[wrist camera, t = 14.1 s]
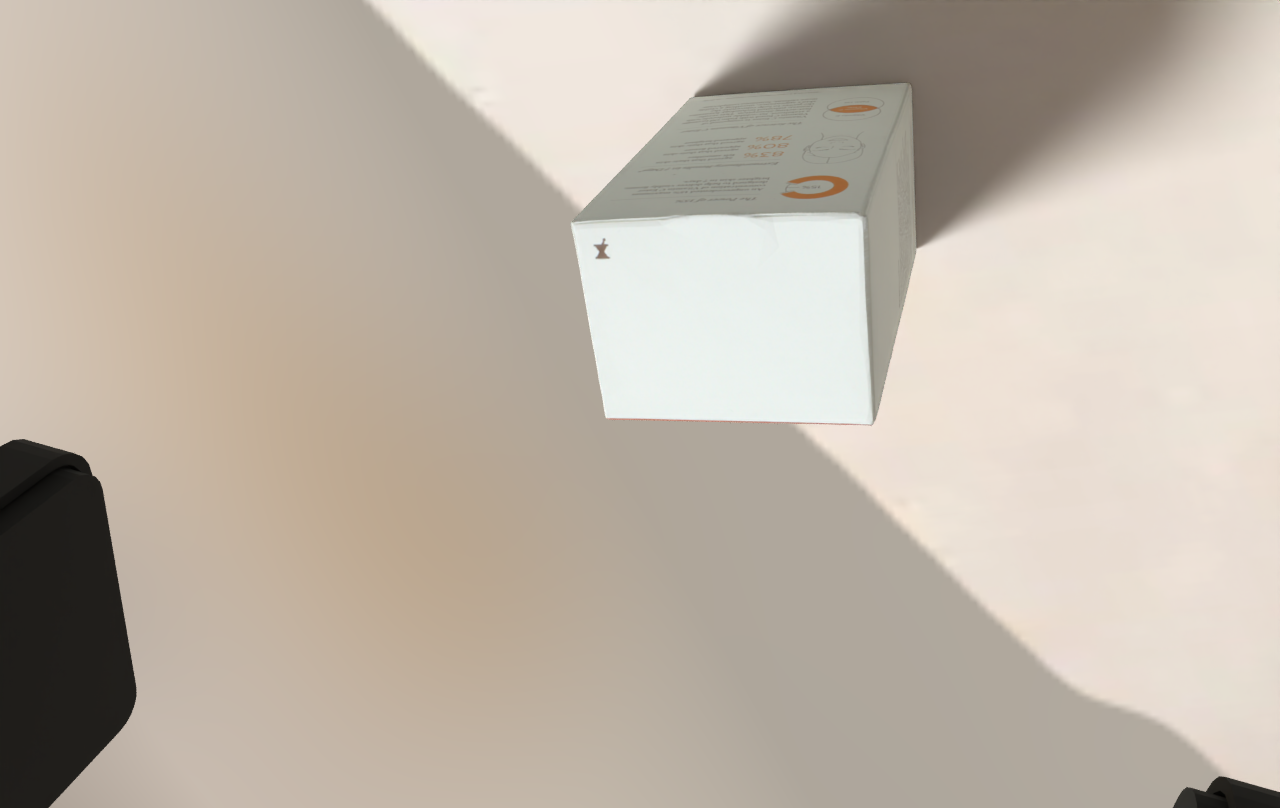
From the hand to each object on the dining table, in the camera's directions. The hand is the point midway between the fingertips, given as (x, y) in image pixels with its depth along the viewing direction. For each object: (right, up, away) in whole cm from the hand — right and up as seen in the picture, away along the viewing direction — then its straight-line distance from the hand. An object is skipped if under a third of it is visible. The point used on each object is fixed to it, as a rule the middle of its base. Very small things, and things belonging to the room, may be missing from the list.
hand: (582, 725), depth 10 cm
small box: (+7, +11, +33) cm, 35 cm away
